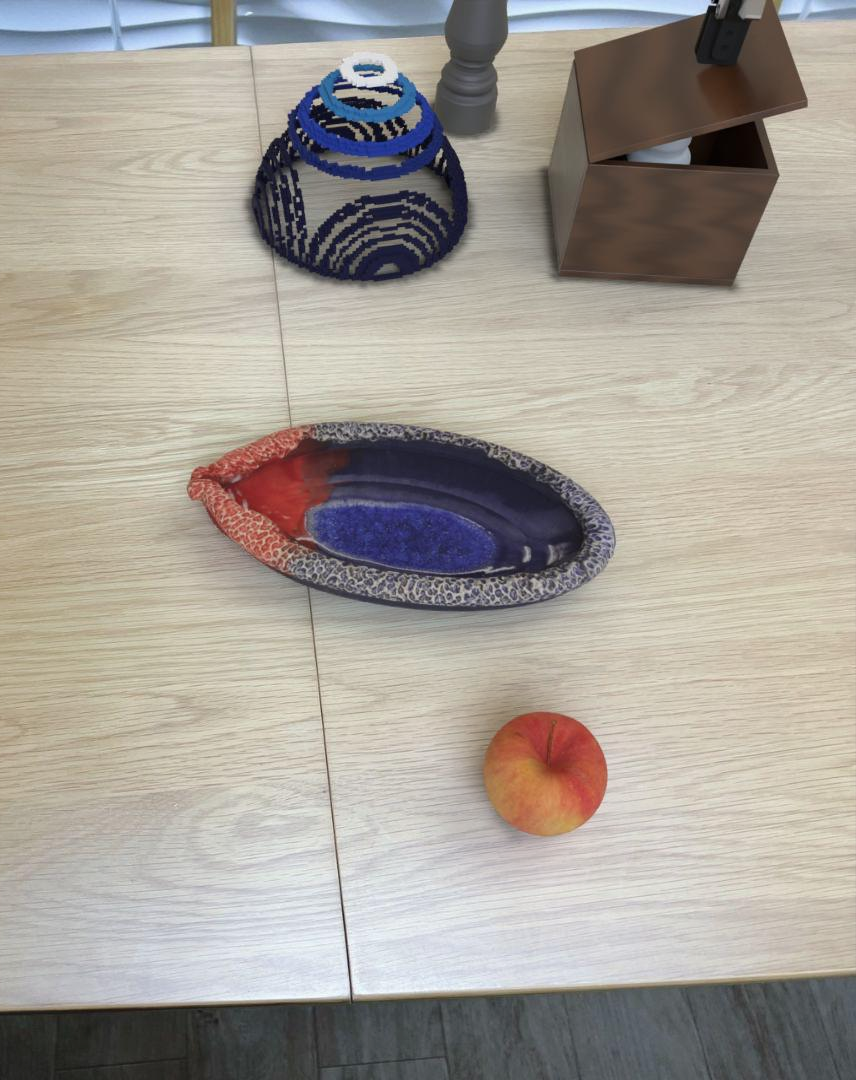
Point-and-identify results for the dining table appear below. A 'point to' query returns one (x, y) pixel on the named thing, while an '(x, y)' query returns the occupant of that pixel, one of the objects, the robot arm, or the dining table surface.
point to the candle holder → (471, 65)
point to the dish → (407, 516)
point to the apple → (545, 773)
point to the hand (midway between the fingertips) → (714, 58)
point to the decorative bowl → (363, 173)
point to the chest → (658, 205)
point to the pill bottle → (663, 153)
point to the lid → (681, 85)
